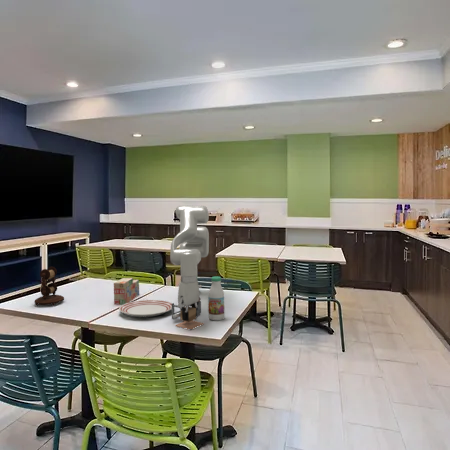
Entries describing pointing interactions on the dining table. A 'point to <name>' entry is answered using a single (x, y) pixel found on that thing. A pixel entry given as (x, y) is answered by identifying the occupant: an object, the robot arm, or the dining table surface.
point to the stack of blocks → (125, 290)
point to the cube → (189, 314)
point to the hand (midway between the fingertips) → (189, 318)
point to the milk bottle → (216, 300)
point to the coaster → (189, 324)
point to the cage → (184, 306)
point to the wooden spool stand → (48, 288)
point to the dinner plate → (146, 308)
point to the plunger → (179, 313)
